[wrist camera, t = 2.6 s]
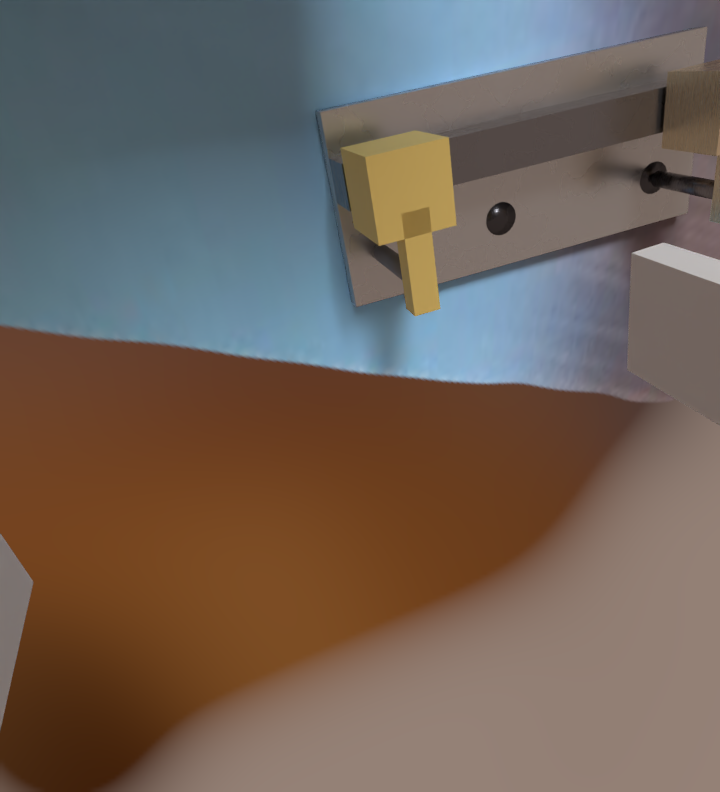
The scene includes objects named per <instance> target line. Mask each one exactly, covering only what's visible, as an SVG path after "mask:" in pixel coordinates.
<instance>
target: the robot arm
mask: <svg viewBox="0 0 720 792" xmlns="http://www.w3.org/2000/svg"><path fill="white" fill-rule="evenodd" d="M627 370H628V371H630V372H632V373H633V374H635V375H637V376H638V377H640V378H642V379H643V380H645V381H647V382H648V383H650V384H652V385H653V386H655V387H657V388H658V389H660V390H662V391H663V392H665V393H667V394H668V395H670V396H672V397H673V398H675V399H677V400H678V401H680V402H681V403H683V404H685V405H686V406H688V407H690V408H691V409H693V410H695V411H696V412H698V413H700V414H701V415H703V416H705V417H706V418H708V419H710V420H711V421H713V422H715V423H716V424H718V425H720V260H717V259H714V258H711V257H708V256H705V255H701V254H698V253H695V252H692V251H689V250H685V249H682V248H679V247H676V246H673V245H670V244H666V243H661V244H658V245H654V246H651V247H648V248H645V249H642V250H639V251H636V252H633V253H631V279H630V307H629V334H628V362H627ZM32 586H33V581H32V579H31V578H30V576H29V575H28V573H27V572H26V570H25V569H24V567H23V566H22V564H21V563H20V562H19V560H18V559H17V557H16V556H15V554H14V553H13V551H12V550H11V548H10V547H9V546H8V544H7V543H6V541H5V540H4V538H3V537H2V536H1V534H0V729H1V724H2V720H3V715H4V711H5V706H6V702H7V697H8V693H9V688H10V684H11V679H12V675H13V670H14V666H15V661H16V657H17V653H18V648H19V644H20V639H21V635H22V630H23V626H24V621H25V617H26V612H27V608H28V603H29V598H30V594H31V590H32Z"/></svg>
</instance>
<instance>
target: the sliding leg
mask: <svg viewBox="0 0 720 792" xmlns="http://www.w3.org/2000/svg"><path fill="white" fill-rule="evenodd" d="M340 149H341V155H342V161H343V167H344V172H345V178H346V184H347V189H348V195H349V201H350V206H351V212H352V218H353V224H354V228H355V229H356V230H358V231H359V232H360V233H362V234H363V235H365V236H366V237H367V238H369V239H370V240H371V241H373V242H374V243H376V244H377V245H378V246H377V247H376V248H375V250H374V257H375V259H376V260H377V261H378V262H380V263H381V264H382V265H383V266H385V267H386V268H387V269H388V270H390V271H391V272H392V273H394V274H395V275H396V276H397V277H399V278H400V279H401V280H402V281H403V288H404V295H405V302H406V309H407V310H409V311H410V312H411V313H412V314H413V315H414V316H418V315H421V314H424V313H428V312H431V311H435V310H438V309H440V302H439V293H438V284H437V275H436V266H435V256H434V247H433V238H432V232H434V231H437V230H441V229H445V228H449V227H452V226H456V225H457V224H456V213H455V202H454V190H453V179H452V168H451V156H450V145H449V137H445V136H440V135H436V134H431V133H426V132H421V131H416V130H415V131H411V132H406V133H402V134H398V135H393V136H389V137H385V138H381V139H376V140H372V141H368V142H363V143H359V144H355V145H351V146H346V147H342V148H340ZM396 241H397V245H398V253H399V254H398V253H396V252H395V251H393V250H392V249H390V248H389V247H388V246H386V245H385V244H389V243H392V242H396Z"/></svg>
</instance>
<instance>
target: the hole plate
mask: <svg viewBox="0 0 720 792" xmlns="http://www.w3.org/2000/svg"><path fill="white" fill-rule="evenodd" d="M706 35H707V27H698V28H691V29H687V30H682V31H677V32H673V33H668V34H664V35H659V36H655V37H650V38H646V39H641V40H637V41H632V42H627V43H623V44H618V45H614V46H609V47H605V48H600V49H596V50H591V51H587V52H582V53H577V54H573V55H568V56H564V57H559V58H555V59H550V60H546V61H541V62H537V63H532V64H527V65H523V66H518V67H514V68H509V69H505V70H500V71H496V72H491V73H487V74H482V75H477V76H473V77H468V78H464V79H459V80H455V81H450V82H446V83H441V84H437V85H432V86H427V87H423V88H418V89H414V90H409V91H405V92H400V93H396V94H391V95H387V96H382V97H377V98H373V99H368V100H364V101H359V102H355V103H350V104H346V105H341V106H337V107H332V108H327V109H323V110H318V111H316V116H317V121H318V126H319V131H320V137H321V142H322V147H323V153H324V158H325V163H326V168H327V174H328V179H329V184H330V190H331V195H332V200H333V205H334V211H335V216H336V221H337V227H338V232H339V237H340V242H341V248H342V253H343V258H344V264H345V269H346V274H347V279H348V285H349V290H350V295H351V301H352V303H353V304H354V305H355V306H356V307H359V306H362V305H366V304H369V303H373V302H376V301H380V300H383V299H387V298H390V297H394V296H397V295H401V294H404V288H403V281H402V280H401V279H400V278H399V277H397V276H396V275H395V274H394V273H392V272H391V271H390V270H388V269H387V268H386V267H385V266H383V265H382V264H381V263H380V262H378V261H377V260H376V259H375V257H374V250H375V248H376V247H377V246H378V245H377V244H376V243H374V242H373V241H371V240H370V239H369V238H367V237H366V236H365V235H363V234H362V233H360V232H359V231H358V230H356V229H355V228H354V224H353V218H352V212H351V206H350V201H349V195H348V189H347V184H346V178H345V172H344V167H343V161H342V155H341V149H340V148H342V147H346V146H351V145H355V144H359V143H363V142H368V141H372V140H376V139H381V138H385V137H389V136H393V135H398V134H402V133H406V132H411V131H415V130H416V131H421V132H426V133H431V134H436V135H440V136H445V137H449V145H450V156H451V168H452V179H453V190H454V202H455V213H456V224H457V225H456V226H452V227H449V228H445V229H441V230H437V231H434V232H432V238H433V247H434V256H435V266H436V275H437V284H440V283H443V282H447V281H450V280H454V279H457V278H461V277H464V276H468V275H471V274H475V273H478V272H482V271H485V270H489V269H492V268H496V267H499V266H503V265H506V264H510V263H513V262H517V261H520V260H524V259H528V258H531V257H535V256H538V255H542V254H545V253H549V252H552V251H556V250H559V249H563V248H566V247H570V246H573V245H577V244H580V243H584V242H587V241H591V240H594V239H598V238H601V237H605V236H608V235H612V234H615V233H619V232H622V231H626V230H630V229H633V228H637V227H640V226H644V225H647V224H651V223H654V222H658V221H661V220H665V219H668V218H672V217H675V216H679V215H682V214H686V213H688V204H689V194H690V195H695V196H700V197H704V198H709V199H712V205H711V213H710V221H712V222H716V223H720V59H719V60H715V61H711V62H707V63H704V53H705V44H706ZM694 153H698V154H705V155H712V156H718V157H717V165H716V173H715V180H709V179H704V178H699V177H693V176H692V166H693V157H694ZM385 245H386V246H388V247H389V248H390V249H392V250H393V251H395V252H396V253H398V245H397V241H396V242H392V243H389V244H385ZM398 254H399V253H398Z"/></svg>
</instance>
